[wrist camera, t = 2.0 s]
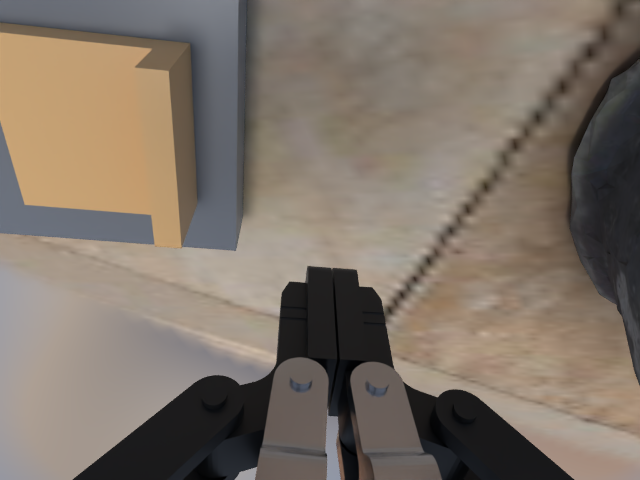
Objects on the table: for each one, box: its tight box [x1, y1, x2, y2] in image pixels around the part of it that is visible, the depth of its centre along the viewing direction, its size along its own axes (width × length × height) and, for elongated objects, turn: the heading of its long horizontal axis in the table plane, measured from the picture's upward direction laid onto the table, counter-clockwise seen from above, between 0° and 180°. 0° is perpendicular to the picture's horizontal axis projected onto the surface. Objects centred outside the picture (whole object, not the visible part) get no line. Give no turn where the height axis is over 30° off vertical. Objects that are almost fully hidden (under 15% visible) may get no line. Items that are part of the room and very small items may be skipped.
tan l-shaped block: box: [0, 23, 198, 248], centre depth 21 cm, size 8×8×4 cm
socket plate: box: [0, 0, 247, 251], centre depth 23 cm, size 14×20×4 cm
